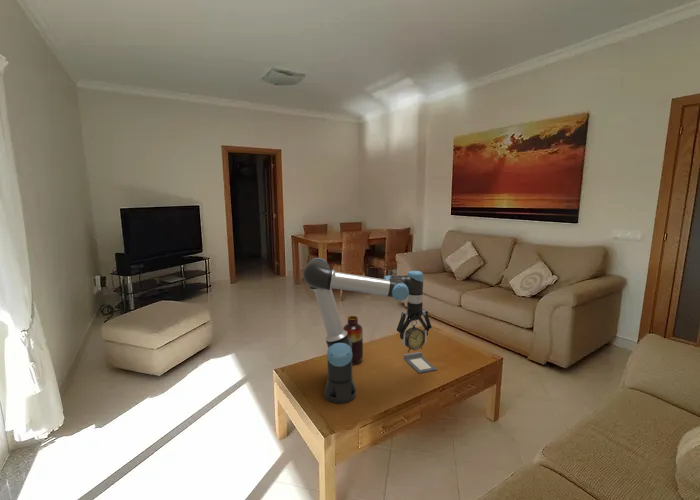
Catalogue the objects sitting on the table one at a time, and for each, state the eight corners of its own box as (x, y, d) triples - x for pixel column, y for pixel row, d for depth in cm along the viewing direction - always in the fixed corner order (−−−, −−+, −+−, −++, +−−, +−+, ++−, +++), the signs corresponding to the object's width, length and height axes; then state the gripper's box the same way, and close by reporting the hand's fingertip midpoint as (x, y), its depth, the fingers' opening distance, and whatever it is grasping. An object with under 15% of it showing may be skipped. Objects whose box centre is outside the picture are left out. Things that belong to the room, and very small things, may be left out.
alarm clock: (407, 354, 168) (408, 323, 165) (401, 350, 172) (402, 319, 170) (425, 350, 172) (426, 319, 170) (418, 346, 177) (419, 316, 175)
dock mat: (418, 374, 179) (418, 368, 178) (403, 359, 195) (403, 354, 195) (436, 370, 182) (437, 365, 182) (420, 356, 199) (420, 351, 198)
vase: (341, 364, 190) (340, 320, 186) (346, 355, 201) (345, 313, 197) (360, 366, 188) (360, 321, 184) (364, 357, 198) (364, 315, 194)
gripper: (396, 306, 162) (395, 349, 165) (439, 301, 168) (438, 343, 172) (390, 301, 169) (389, 343, 172) (431, 297, 176) (430, 337, 179)
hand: (413, 343), depth 172 cm, fingers closed on alarm clock, 11 cm apart
